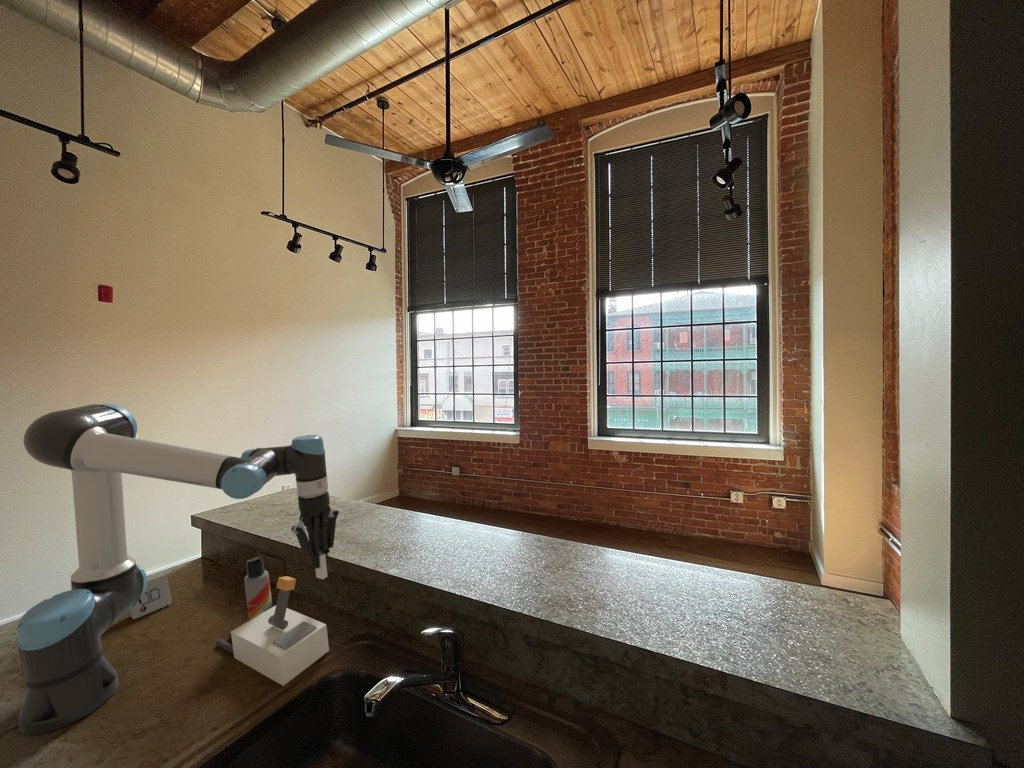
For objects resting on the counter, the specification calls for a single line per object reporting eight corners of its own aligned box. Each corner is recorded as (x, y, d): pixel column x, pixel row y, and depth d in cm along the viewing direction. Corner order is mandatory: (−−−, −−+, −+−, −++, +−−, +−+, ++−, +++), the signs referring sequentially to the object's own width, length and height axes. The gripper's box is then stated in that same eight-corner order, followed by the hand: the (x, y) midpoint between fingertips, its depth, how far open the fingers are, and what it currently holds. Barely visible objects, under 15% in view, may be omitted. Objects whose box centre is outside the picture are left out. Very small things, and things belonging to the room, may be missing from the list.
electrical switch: (132, 621, 122) (127, 590, 122) (128, 616, 125) (124, 585, 125) (172, 604, 129) (168, 575, 129) (168, 600, 133) (163, 571, 132)
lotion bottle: (255, 637, 112) (247, 565, 110) (246, 629, 115) (238, 560, 113) (278, 625, 116) (270, 556, 114) (268, 618, 120) (260, 551, 118)
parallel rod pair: (216, 646, 109) (215, 641, 109) (234, 635, 113) (233, 630, 113) (235, 657, 105) (234, 651, 105) (253, 645, 109) (252, 640, 109)
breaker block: (234, 657, 105) (230, 629, 104) (280, 628, 115) (277, 602, 114) (283, 685, 95) (279, 655, 94) (329, 650, 105) (326, 623, 105)
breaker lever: (266, 625, 104) (276, 576, 107) (275, 622, 106) (285, 575, 109) (278, 630, 102) (289, 581, 104) (287, 628, 104) (297, 579, 106)
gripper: (299, 503, 105) (309, 593, 108) (343, 487, 117) (350, 568, 119) (281, 499, 109) (291, 586, 111) (325, 483, 120) (333, 562, 123)
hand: (321, 576), depth 115 cm, fingers closed
